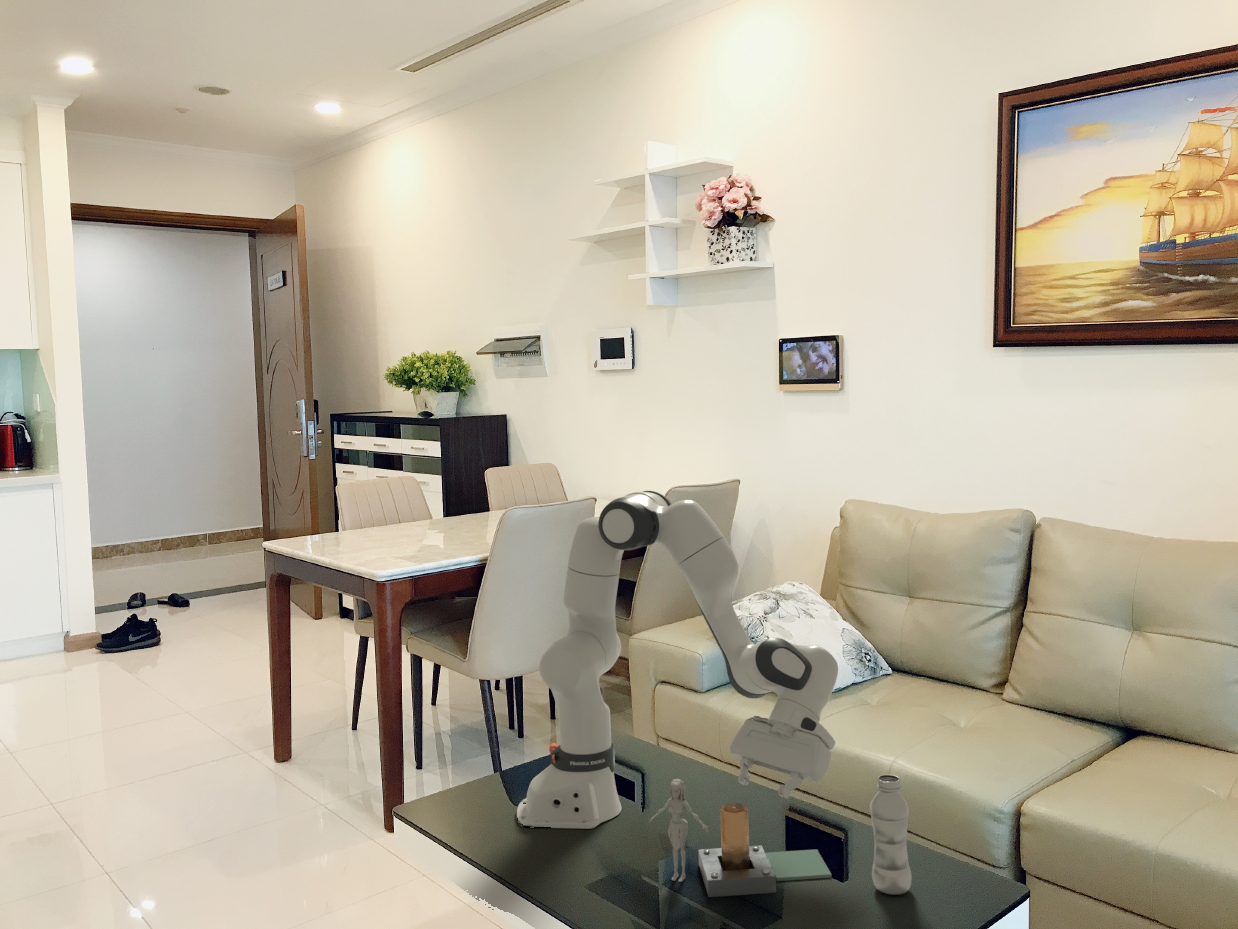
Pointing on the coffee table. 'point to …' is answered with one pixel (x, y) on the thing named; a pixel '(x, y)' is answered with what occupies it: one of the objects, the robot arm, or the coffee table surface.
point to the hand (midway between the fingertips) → (761, 789)
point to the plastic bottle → (890, 837)
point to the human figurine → (678, 823)
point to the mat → (798, 865)
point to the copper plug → (734, 837)
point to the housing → (736, 874)
